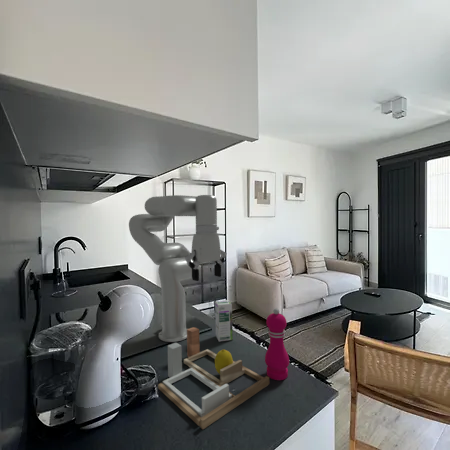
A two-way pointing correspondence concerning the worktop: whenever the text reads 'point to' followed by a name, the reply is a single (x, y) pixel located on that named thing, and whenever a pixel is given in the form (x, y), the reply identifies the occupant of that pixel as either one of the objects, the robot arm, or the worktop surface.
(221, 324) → the syrup box
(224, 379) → the frame
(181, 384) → the worktop surface
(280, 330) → the pepper mill
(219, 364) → the lemon
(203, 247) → the robot arm
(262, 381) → the lane bed
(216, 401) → the frame
